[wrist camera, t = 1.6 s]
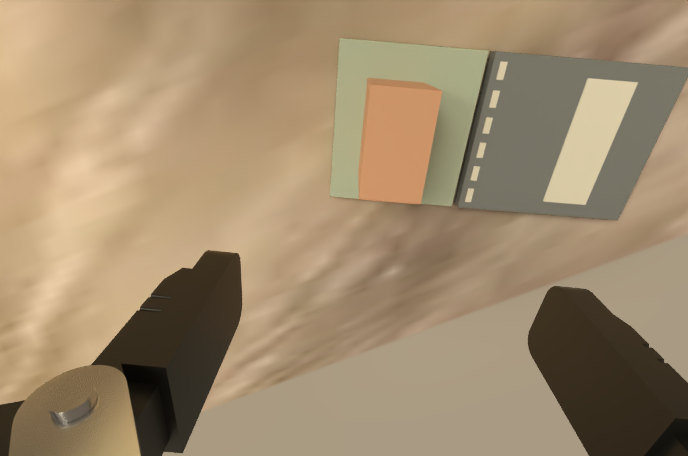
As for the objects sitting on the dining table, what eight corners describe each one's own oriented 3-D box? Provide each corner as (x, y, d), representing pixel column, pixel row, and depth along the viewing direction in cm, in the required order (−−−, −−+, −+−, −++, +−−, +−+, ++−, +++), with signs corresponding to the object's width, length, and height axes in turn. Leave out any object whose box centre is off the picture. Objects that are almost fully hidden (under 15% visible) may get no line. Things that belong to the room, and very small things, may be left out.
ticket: (490, 51, 21) (496, 51, 20) (678, 67, 21) (693, 68, 20) (454, 201, 26) (458, 207, 25) (608, 214, 26) (618, 220, 25)
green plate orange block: (340, 38, 21) (335, 34, 16) (484, 50, 21) (526, 50, 16) (330, 192, 26) (324, 228, 20) (449, 201, 26) (472, 240, 20)
